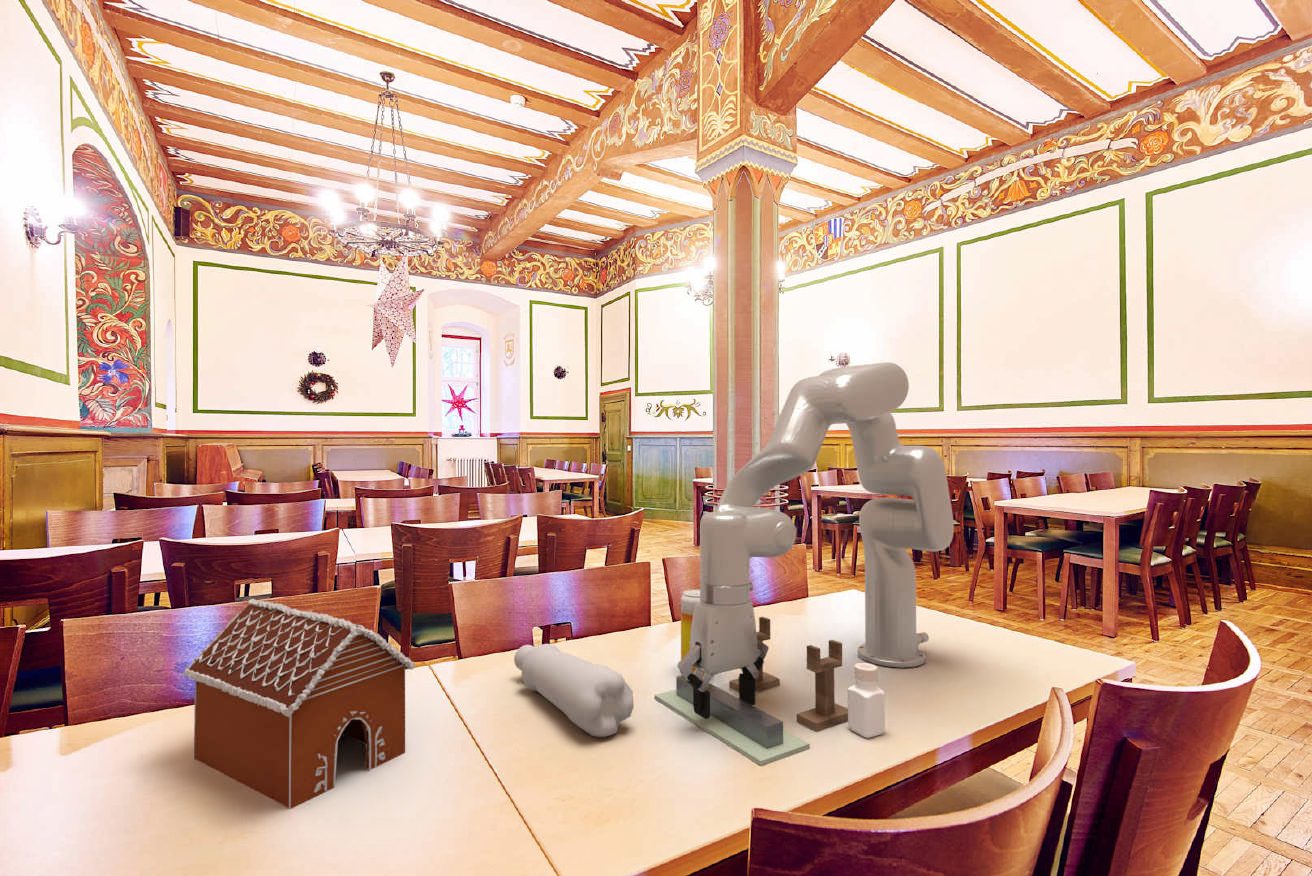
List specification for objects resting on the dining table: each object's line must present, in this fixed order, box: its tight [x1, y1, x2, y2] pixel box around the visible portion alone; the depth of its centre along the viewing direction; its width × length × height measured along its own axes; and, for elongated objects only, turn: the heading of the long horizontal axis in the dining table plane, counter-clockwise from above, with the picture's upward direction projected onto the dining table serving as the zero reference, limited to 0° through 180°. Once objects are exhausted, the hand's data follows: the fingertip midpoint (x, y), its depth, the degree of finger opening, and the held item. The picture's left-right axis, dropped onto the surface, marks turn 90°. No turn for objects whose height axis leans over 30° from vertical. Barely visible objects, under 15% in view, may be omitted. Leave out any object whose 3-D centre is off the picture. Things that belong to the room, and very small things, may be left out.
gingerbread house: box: [182, 598, 416, 810], centre depth 84 cm, size 18×26×20 cm
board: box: [654, 689, 811, 766], centre depth 94 cm, size 9×26×1 cm, turn 32°
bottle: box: [513, 643, 635, 738], centre depth 100 cm, size 9×9×30 cm
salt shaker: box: [847, 662, 886, 739], centre depth 91 cm, size 4×4×10 cm
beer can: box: [680, 589, 704, 679], centre depth 114 cm, size 6×6×15 cm
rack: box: [728, 616, 848, 732], centre depth 101 cm, size 8×20×12 cm, turn 32°
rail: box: [675, 674, 784, 749], centre depth 94 cm, size 22×3×3 cm, turn 32°
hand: (725, 708), depth 94 cm, fingers open, 8 cm apart
